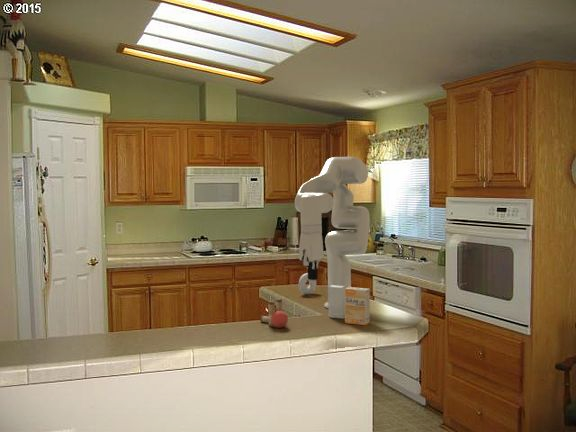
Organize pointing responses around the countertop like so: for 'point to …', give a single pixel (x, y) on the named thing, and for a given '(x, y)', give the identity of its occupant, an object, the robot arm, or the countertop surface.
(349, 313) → the supplement box
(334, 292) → the skincare box
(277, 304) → the pin
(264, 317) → the front pin
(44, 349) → the countertop surface
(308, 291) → the donut
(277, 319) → the ball
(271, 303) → the pin
